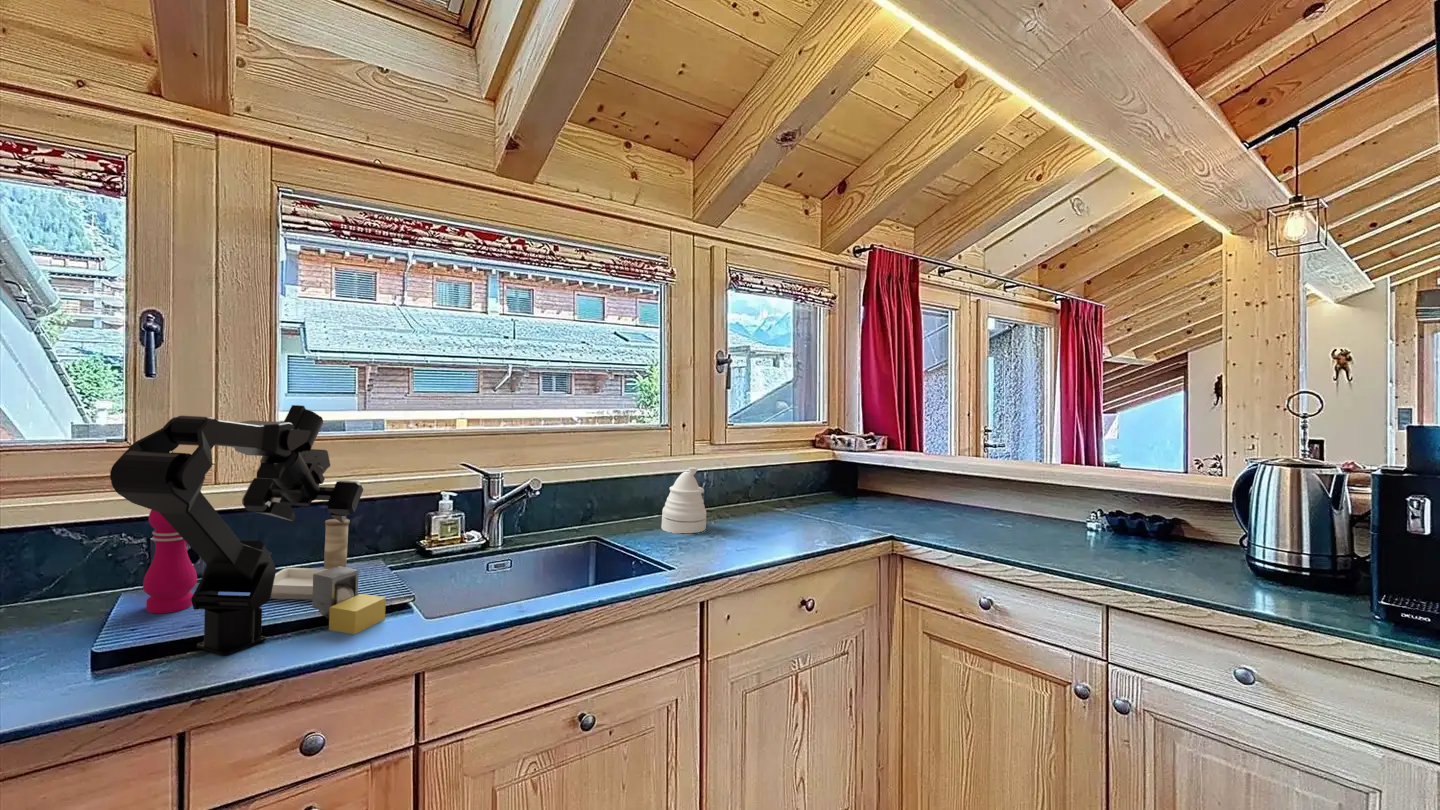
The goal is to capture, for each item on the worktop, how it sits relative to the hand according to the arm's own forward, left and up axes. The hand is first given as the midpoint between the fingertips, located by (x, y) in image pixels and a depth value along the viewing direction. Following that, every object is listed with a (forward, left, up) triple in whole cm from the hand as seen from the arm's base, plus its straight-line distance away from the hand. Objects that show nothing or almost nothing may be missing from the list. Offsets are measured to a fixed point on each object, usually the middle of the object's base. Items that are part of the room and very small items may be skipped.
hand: (319, 519), depth 128 cm
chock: (-9, -21, -13) cm, 27 cm away
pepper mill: (-19, +11, -13) cm, 26 cm away
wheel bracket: (-9, -15, -13) cm, 22 cm away
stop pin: (+7, +3, -13) cm, 15 cm away
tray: (-2, 0, -13) cm, 13 cm away
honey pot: (+83, -42, -13) cm, 94 cm away
